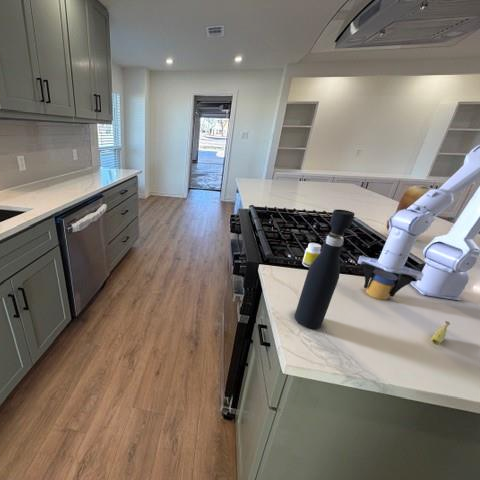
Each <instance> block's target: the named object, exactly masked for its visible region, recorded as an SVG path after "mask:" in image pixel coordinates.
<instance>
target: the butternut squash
mask: <svg viewBox="0 0 480 480" xmlns="http://www.w3.org/2000/svg"><path fill="white" fill-rule="evenodd" d="M432 189H434V187H429V186H425V185H412V186H410V187H408V188H407V189H406V190H405V192H404V193H403V194H402V195H401V198H400V200H399V203H398V205H397V206H396V211H395V212H397V211H399V210H403V209H407V208H408V207H409V206H411V205H412V204H413V203H414V202H416V201H417V200H418V199H419V198H421V197H422V196H423V195H424V194H426V193H427V192H428V191H429V190H432ZM389 227H390V225H389V219H388V220H387V221H386V229H387V231H388V230H389ZM419 236H420V235H418V237H419Z"/></svg>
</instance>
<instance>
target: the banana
mask: <svg viewBox="0 0 480 480" xmlns="http://www.w3.org/2000/svg"><path fill="white" fill-rule="evenodd" d="M444 322H445V325H443V326H442V327H440V328H438V329H437V330H436V331H435V333H434V334H433V335H432V336H431V338H430V340H431V342H432V344H434V345H441V344H442V342H444V339H445V338H446V335H447V328H449V327H448V326H450V324H451V323H450V322H449V321H445V320H444Z"/></svg>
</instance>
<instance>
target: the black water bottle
mask: <svg viewBox="0 0 480 480" xmlns="http://www.w3.org/2000/svg"><path fill="white" fill-rule="evenodd" d="M355 215H356V213H355V212H353V211H350V210H346V209H339V208H337V209H333V212H332V213H331V218H330V221H329V225H330V226H331V229H330V231H329V234H327V236H326V239H325V241H323V242H322V243H323V244H322V245H321V249H320V252H321V253H320V254H319V255H318V256H317V257H316V259H315V260H314V261H313V263H312V264H311V266H310V268H309V267H308V269H307V273H306V277H305V279H304V282H303V286H302V290H301V292H300V296H299V298H298V302H297V305H296V308H295V311H294V317H293V318H294V319H295V321H296V322H297V323H298V324H299V325H300V326H302V327H303V328H307V329H311V330H318V329H320V328H321V327H322V326H323V324H324V323H323V322H324V320H325V318H326V314H327V313H328V309H329V307H330V303H331V301H332V298H333V297H334V293H335V290H336V288H337V284H338V282H339V279H340V273H341V260H340V256H341V253H342V251H343V247H344V246H343V245H344V236H345V231H346V230H349V229H350V228H351V226H352V223H353V220H354V218H355Z"/></svg>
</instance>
